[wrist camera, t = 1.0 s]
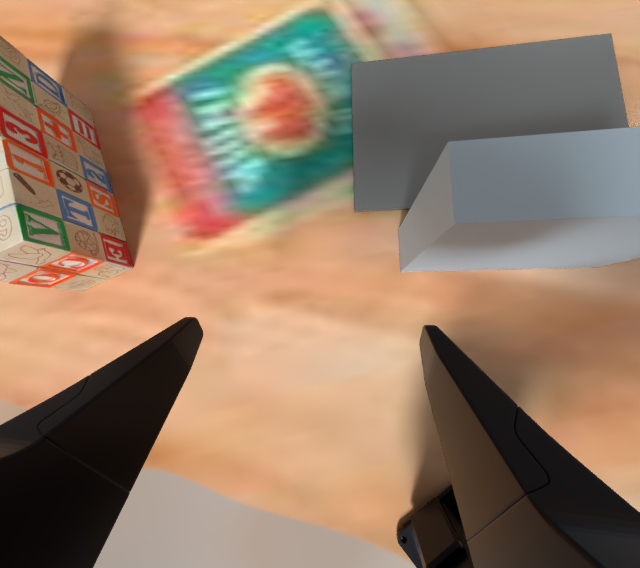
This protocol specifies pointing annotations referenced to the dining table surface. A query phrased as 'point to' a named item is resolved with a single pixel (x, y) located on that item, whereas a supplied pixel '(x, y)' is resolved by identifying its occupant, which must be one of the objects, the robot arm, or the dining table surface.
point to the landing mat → (472, 107)
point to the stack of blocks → (52, 185)
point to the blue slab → (528, 204)
